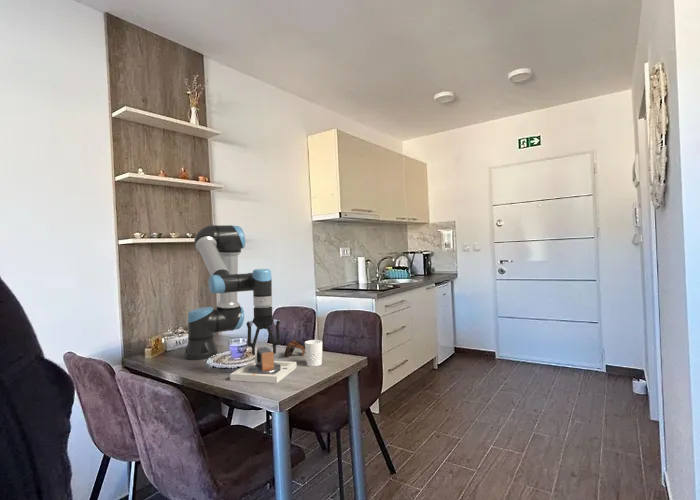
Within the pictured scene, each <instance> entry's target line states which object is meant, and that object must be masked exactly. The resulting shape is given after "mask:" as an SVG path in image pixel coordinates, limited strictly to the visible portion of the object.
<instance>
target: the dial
mask: <svg viewBox="0 0 700 500" xmlns="http://www.w3.org/2000/svg"><path fill="white" fill-rule="evenodd" d="M274 355H275V354H274V352H273V351H271V349H269V348H268V347H260V348H258V347H257V361H258V362H257V364H256V365H253V366H251V367H249V369H248V373H251V374H254V373H256V374H271V375H273V374H276V373H277V372H279V371H280V370H281V366H280V365H279V364H276V363H274V361H275V358H274V357H275V356H274Z"/></svg>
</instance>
